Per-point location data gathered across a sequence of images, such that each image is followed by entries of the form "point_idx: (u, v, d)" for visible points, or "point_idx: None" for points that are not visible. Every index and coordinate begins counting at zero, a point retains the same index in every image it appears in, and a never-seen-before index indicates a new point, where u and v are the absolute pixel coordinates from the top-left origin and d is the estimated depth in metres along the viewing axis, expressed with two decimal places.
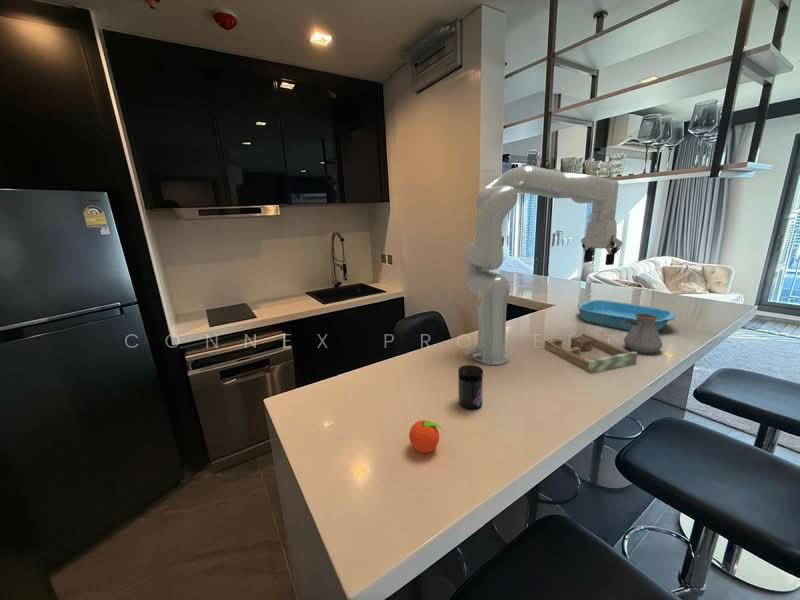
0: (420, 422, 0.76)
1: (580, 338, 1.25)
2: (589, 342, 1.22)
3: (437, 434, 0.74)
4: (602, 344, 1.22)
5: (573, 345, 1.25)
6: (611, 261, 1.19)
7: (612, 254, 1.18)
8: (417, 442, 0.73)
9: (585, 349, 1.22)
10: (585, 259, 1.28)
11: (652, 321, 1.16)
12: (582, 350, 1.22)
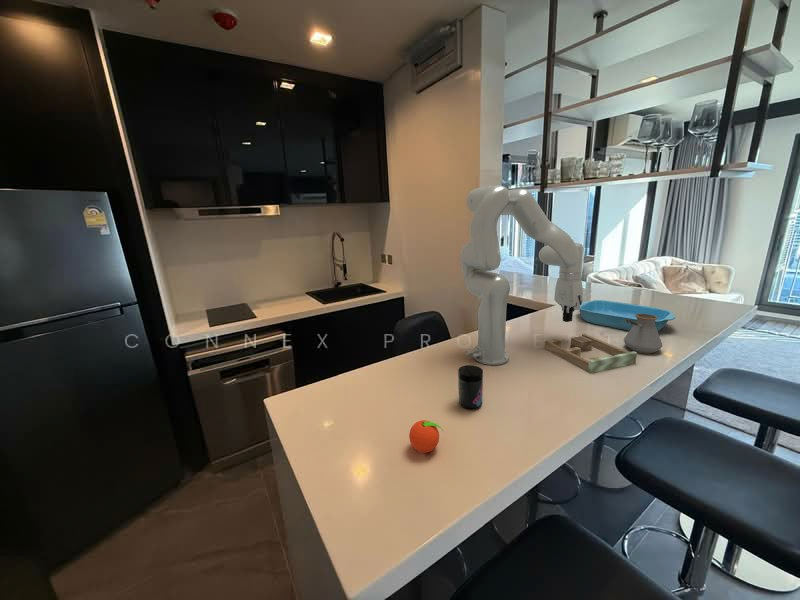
0: (420, 422, 0.76)
1: (580, 338, 1.25)
2: (589, 342, 1.22)
3: (437, 434, 0.74)
4: (602, 344, 1.22)
5: (573, 345, 1.25)
6: (569, 319, 1.29)
7: (570, 313, 1.28)
8: (417, 442, 0.73)
9: (585, 349, 1.22)
10: (563, 319, 1.31)
11: (652, 321, 1.16)
12: (582, 350, 1.22)
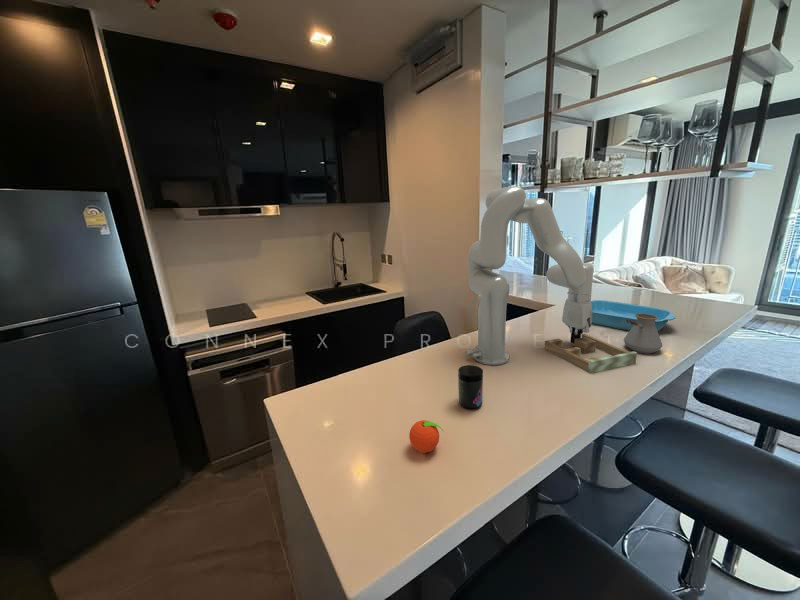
0: (420, 422, 0.76)
1: (584, 339, 1.23)
2: (593, 343, 1.20)
3: (437, 434, 0.74)
4: (602, 344, 1.22)
5: (576, 346, 1.24)
6: None
7: (578, 335, 1.25)
8: (417, 442, 0.73)
9: (588, 350, 1.21)
10: (571, 341, 1.27)
11: (652, 321, 1.16)
12: (585, 351, 1.21)
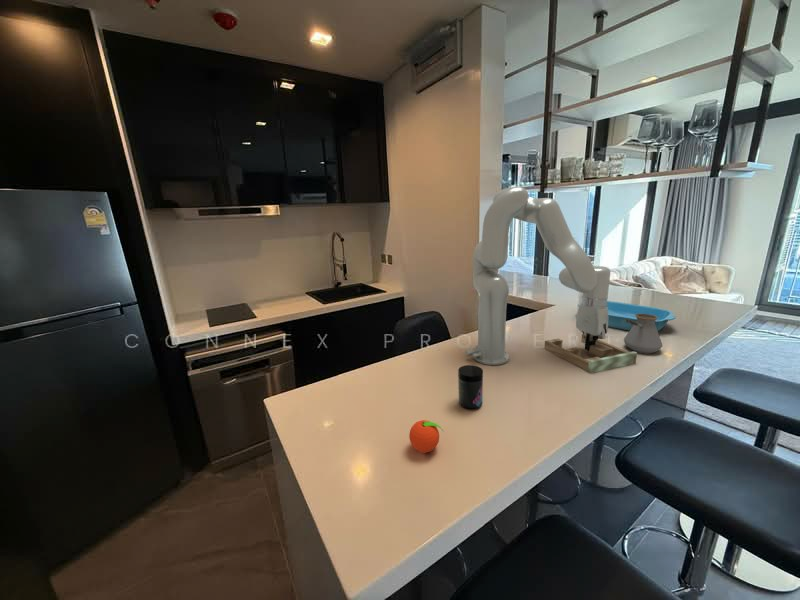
0: (420, 422, 0.76)
1: (600, 346, 1.17)
2: (609, 350, 1.14)
3: (437, 434, 0.74)
4: None
5: (591, 353, 1.17)
6: None
7: (593, 341, 1.19)
8: (417, 442, 0.73)
9: None
10: (586, 347, 1.21)
11: (652, 321, 1.16)
12: None
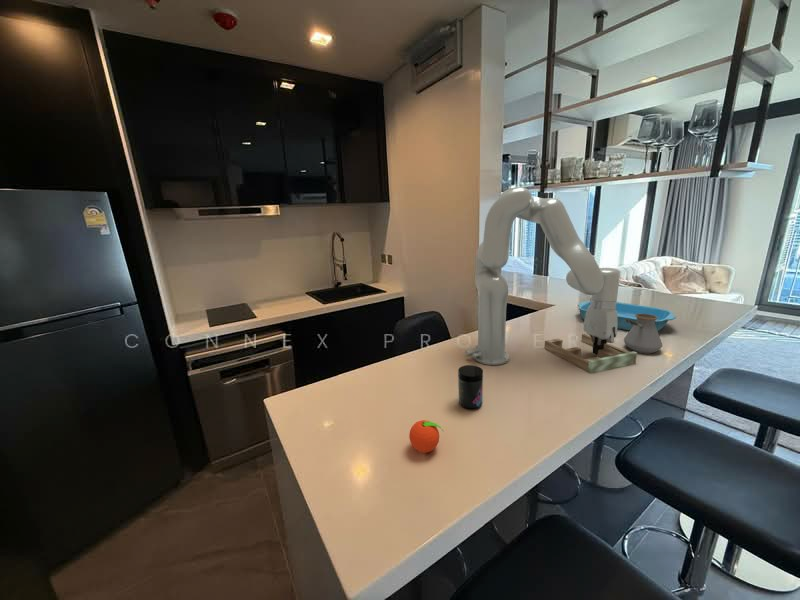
0: (420, 422, 0.76)
1: (608, 350, 1.14)
2: None
3: (437, 434, 0.74)
4: None
5: None
6: None
7: (601, 345, 1.15)
8: (417, 442, 0.73)
9: None
10: (593, 351, 1.17)
11: (652, 321, 1.16)
12: None
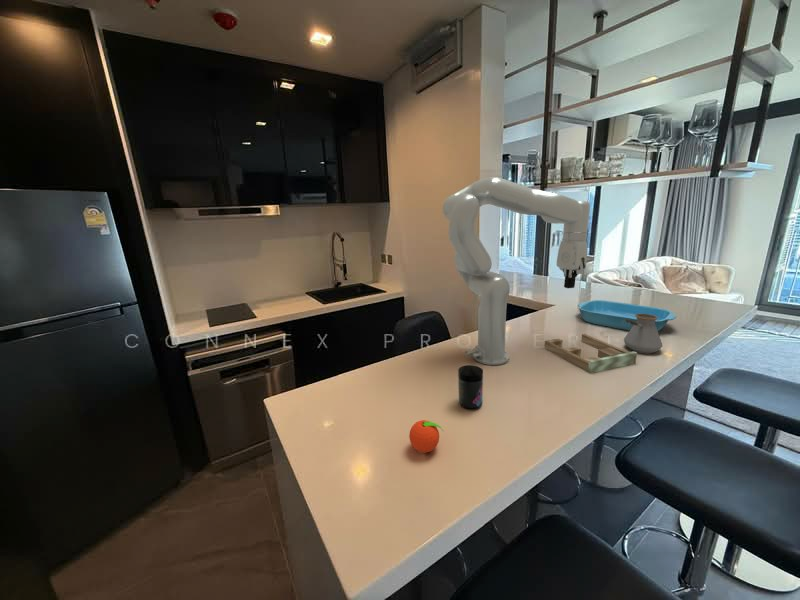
0: (420, 422, 0.76)
1: (608, 350, 1.14)
2: None
3: (437, 434, 0.74)
4: (602, 344, 1.22)
5: None
6: (571, 284, 1.20)
7: (572, 278, 1.19)
8: (417, 442, 0.73)
9: None
10: (565, 285, 1.22)
11: (652, 321, 1.16)
12: None
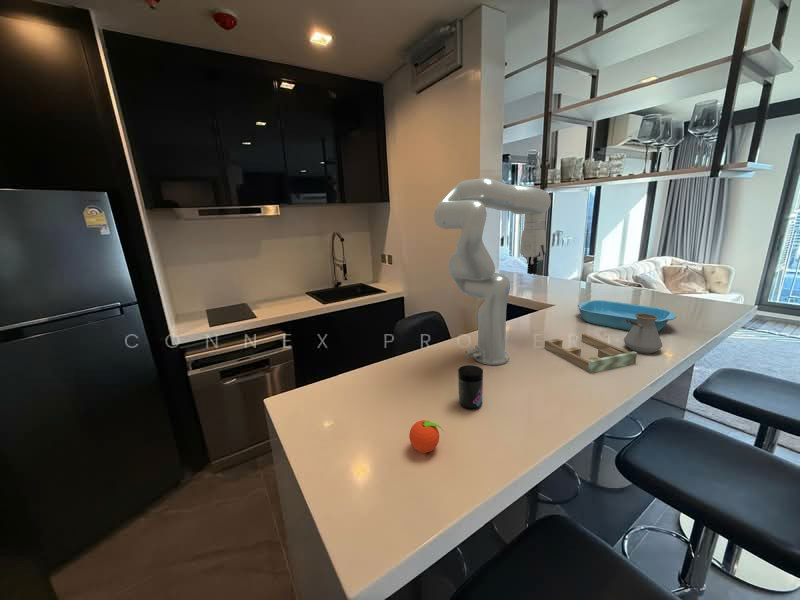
0: (420, 422, 0.76)
1: (609, 350, 1.14)
2: None
3: (437, 434, 0.74)
4: (602, 344, 1.22)
5: None
6: (533, 270, 1.30)
7: (534, 264, 1.29)
8: (417, 442, 0.73)
9: None
10: (528, 271, 1.31)
11: (652, 321, 1.16)
12: None
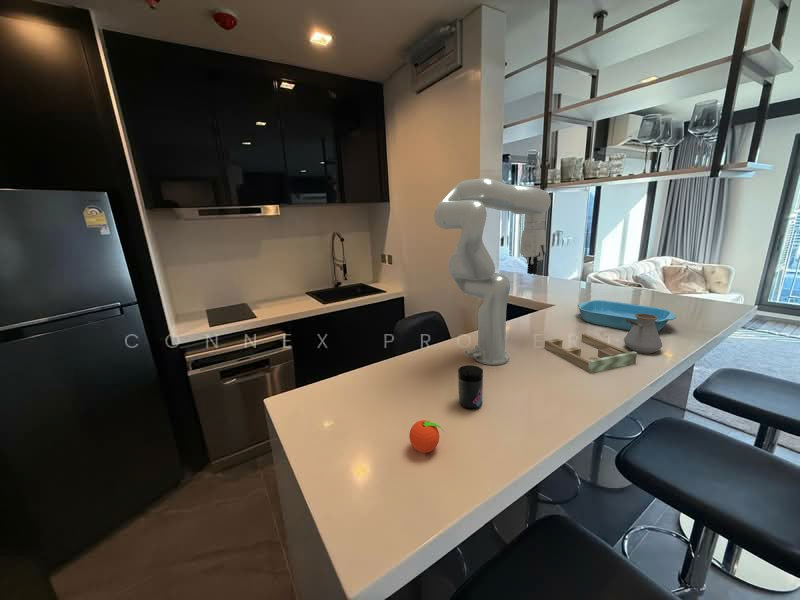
0: (420, 422, 0.76)
1: (608, 350, 1.14)
2: None
3: (437, 434, 0.74)
4: (602, 344, 1.22)
5: None
6: (533, 270, 1.30)
7: (534, 264, 1.29)
8: (417, 442, 0.73)
9: None
10: (528, 271, 1.31)
11: (652, 321, 1.16)
12: None
